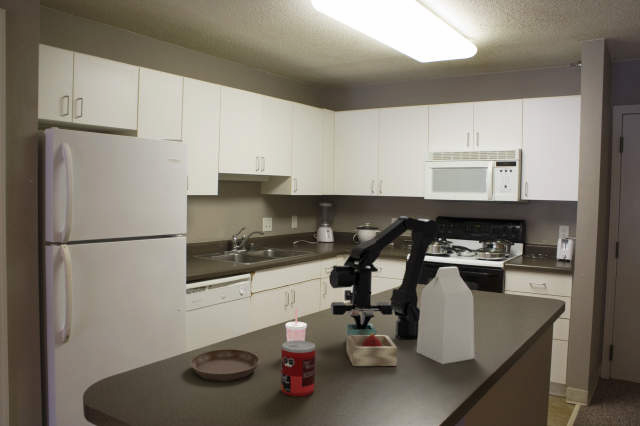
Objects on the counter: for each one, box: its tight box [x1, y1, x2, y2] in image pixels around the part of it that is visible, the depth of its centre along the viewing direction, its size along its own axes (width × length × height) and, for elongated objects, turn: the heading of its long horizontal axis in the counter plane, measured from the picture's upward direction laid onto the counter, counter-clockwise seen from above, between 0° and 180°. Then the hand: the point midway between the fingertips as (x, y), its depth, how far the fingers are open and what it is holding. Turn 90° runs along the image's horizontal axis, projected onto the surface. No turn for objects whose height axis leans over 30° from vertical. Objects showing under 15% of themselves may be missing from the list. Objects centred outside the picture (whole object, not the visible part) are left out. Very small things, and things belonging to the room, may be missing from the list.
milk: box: [415, 266, 475, 365], centre depth 152 cm, size 12×12×26 cm
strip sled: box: [345, 323, 398, 367], centre depth 153 cm, size 12×25×5 cm, turn 6°
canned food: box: [280, 340, 317, 397], centre depth 123 cm, size 8×8×11 cm
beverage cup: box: [284, 306, 308, 342], centre depth 149 cm, size 6×6×14 cm
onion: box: [362, 333, 382, 347], centre depth 145 cm, size 6×6×8 cm
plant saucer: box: [190, 348, 260, 382], centre depth 135 cm, size 18×18×3 cm
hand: (360, 335), depth 163 cm, fingers closed
